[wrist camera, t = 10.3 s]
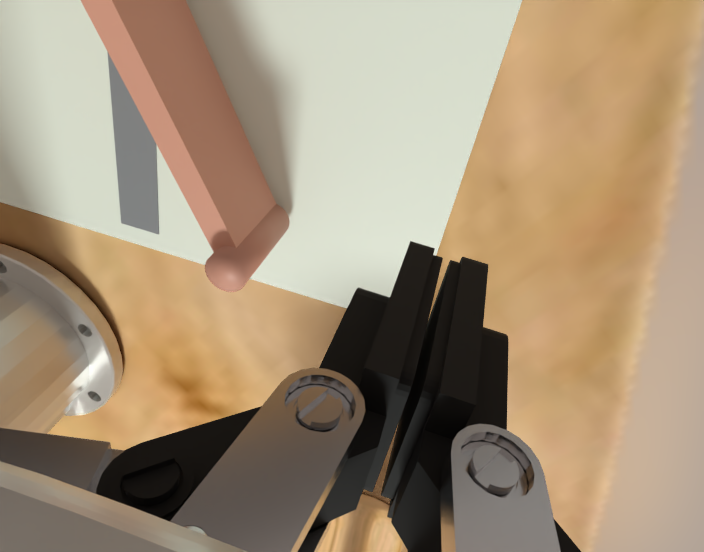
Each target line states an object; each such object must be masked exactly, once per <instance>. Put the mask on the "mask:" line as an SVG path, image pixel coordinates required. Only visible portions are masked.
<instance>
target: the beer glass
mask: <svg viewBox="0 0 704 552" xmlns="http://www.w3.org/2000/svg"><path fill="white" fill-rule="evenodd" d="M388 510H389V505H388V504H386V503H385V502H383V501H381V500H379V499H376V498H374V497H371V496H368V495H364V494H361V497H360V500H359V503H358V506H357V508H356V510H354V511H351V512H349V513H347V514H345V515H343V516H340V517H338V518H336V519H334V520H332V521H331V525H330V528H329V530H328V532H327V534H326V536H325V538H324V540H323V542H322V544H321V546H320V548H319V550H318V552H401V548H402V544H403V541H402V540H401V538H400V536H399V535H398V533H397V531H396V530H395V528H394V526H393V525H392V523H391V520H392V519H391V518H389V517H387V514H388Z"/></svg>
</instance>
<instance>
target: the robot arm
mask: <svg viewBox="0 0 704 552" xmlns="http://www.w3.org/2000/svg"><path fill="white" fill-rule="evenodd" d="M434 250H435V248H432V247H429V246H425V245H422V244H419V243H416V242H412V241H410V243H409V246H408V249H407V252H406V254H405V257H404V260H403V263H402V266H401V268H400V271H399V274H398V277H397V279H396V282H395V285H394V288H393V290H392V293H391V296H390V297H387V296H384V295H380V294H377V293H374V292H371V291H368V290H365V289H362V288H357V289H356V291H355V293H354V295H353V297H352V299H351V301H350V304H349V306H348V308H347V310H346V312H345V314H344V316H343V318H342V321H341V323H340V325H339V327H338V329H337V331H336V333H335V335H334V338H333V340H332V342H331V344H330V346H329V348H328V350H327V352H326V355H325V357H324V359H323V361H322V363H321V365H320V367H319V368H309V369H302V370H299V371H297V372H295V373H292V374H290V375H289V376H288V377H287V378H286V379H284V380H283V381H282V382H281V383H280V384H279V386H278V387H277V388H276V389H275V391H274V392H273V393H272V394H271V396H270V397H269V398H268V399H267V401H266V402H265V403H264V404H263V406H261V407H258V408H255V409H251V410H248V411H245V412H242V413H238V414H235V415H232V416H228V417H225V418H222V419H218V420H215V421H212V422H209V423H205V424H202V425H199V426H195V427H192V428H189V429H186V430H182V431H179V432H176V433H172V434H169V435H166V436H163V437H159V438H156V439H153V440H149V441H146V442H143V443H140V444H138V445H136V446H133V447H131V448H129V449H126V450H125V451H123V450H116V449H111V445H110V442H104V441H96V440H89V439H81V438H74V437H66V436H59V435H51V434H47V433H48V432H49V431H50V430H51V429H52V428H53V427H54V426H55V424H56V423H57V422H58V421H59V420H60V419H61V418H62V417H63V416H64V415H66V416H73V415H84V414H87V413H91V412H94V411H96V410H97V409H99V408H100V407H102V406H103V405H105V404H106V402H107V401H108V400H109V399H110V398H111V397H112V396H113V395H114V393H115V392H116V391H117V389H118V387H119V385H120V383H121V379H122V373H123V364H122V355H121V352H120V349H119V346H118V343H117V339H116V337H115V335H114V333H113V331H112V329H111V328H110V326H109V324H108V322H107V321H106V319H105V318H104V316H103V315H102V313H101V312H100V311H99V309H98V308H97V306H96V305H95V304H94V303H93V302H92V301H91V300H90V299H89V298H88V296H87V295H86V294H85V293H84V292H83V291H82V290H81V289H80V288H79V287H78V286H76V285H75V284H74V283H73V282H72V281H71V280H70V279H68V278H67V277H66V276H65V275H64V274H62V273H61V272H59V271H58V270H56V269H55V268H53V267H52V266H50V265H49V264H47V263H46V262H44V261H42V260H40V259H38V258H36V257H35V256H33V255H31V254H29V253H27V252H24V251H22V250H19V249H16V248H13V247H10V246H8V245H5V244H0V552H318V550H319V548H320V546H321V544H322V542H323V540H324V538H325V536H326V534H327V532H328V530H329V528H330V525H331V521H332V520H334V519H336V518H338V517H340V516H343V515H345V514H347V513H349V512H351V511H354V510H356V508H357V506H358V503H359V500H360V497H361V494H362V491H363V489H365V490H368V491H370V492H373V489H374V487H375V484H376V481H377V479H378V476H379V473H380V471H381V468H382V465H383V463H384V460H385V457H386V455H387V452H388V449H389V446H390V444H391V441H392V438H393V436H394V433H395V430H396V428H397V425H398V428H397V432H396V436H395V440H394V444H393V448H392V452H391V456H390V460H389V464H388V468H387V472H386V476H385V480H384V484H383V488H382V493H381V496H384V497H387V498H389V499H391V501H390V506H389V510H388V514H387V517H389V518H391V519H392V520H391V523H392V525H393V526H394V528H395V530H396V531H397V533H398V535H399V536H400V538H401V540H402V541H403V544H402V548H401V552H581V551H580V550H579V549H578V547H577V546H576V545H575V544H574V543H573V541H572V540H571V539H570V538H569V537H568V535H567V534H566V533H565V532H564V531H563V529H562V528H561V527H560V526H559V524H558V523H557V522H556V521H555V520H554V518H553V513H552V509H551V504H550V500H549V495H548V490H547V486H546V481H545V477H544V473H543V470H542V467H541V465H540V462H539V460H538V458H537V457H536V456H535V454H534V453H533V451H532V450H531V448H530V447H529V446H528V445H526V444H525V443H524V442H523V441H522V440H521V439H520V438H519V437H517V436H516V435H514V434H512V433H511V432H509V431H507V382H508V336H507V335H506V334H503V333H500V332H497V331H494V330H491V329H487V328H484V327H483V319H484V308H485V296H486V285H487V274H488V264H485V263H482V262H478V261H475V260H472V259H468V258H465V257H462V258H461V260H460V263H458V262H455V261H452V260H450V262H449V265H448V267H447V270H446V273H445V276H444V279H443V281H442V284H441V287H440V290H439V292H438V295H437V298H436V301H435V304H434V306H433V309H432V312H431V315H430V317H429V314H430V310H431V305H432V301H433V297H434V293H435V289H436V284H437V280H438V276H439V272H440V267H441V263H442V259H443V258H442V257H438V256H435V255H433V254H434ZM428 318H429V320H428ZM427 322H428V323H427ZM398 422H399V423H398Z"/></svg>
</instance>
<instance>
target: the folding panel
mask: <svg viewBox="0 0 704 552" xmlns="http://www.w3.org/2000/svg"><path fill="white" fill-rule="evenodd" d="M81 2H82V4H83V6H84V8H85V10H86V12H87V14H88V16H89V17H90V19H91V21H92V23H93V25H94V27H95V29H96V31H97V33H98V34H99V36H100V38H101V40H102V42H103V44H104V46H105V48H106V50H107V51H108V53H109V55H110V57H111V59H112V61H113V63H114V65H115V67H116V69H117V70H118V72H119V74H120V76H121V78H122V80H123V82H124V84H125V86H126V87H127V89H128V91H129V93H130V95H131V97H132V99H133V101H134V103H135V104H136V106H137V108H138V110H139V112H140V114H141V116H142V118H143V120H144V122H145V123H146V125H147V127H148V129H149V131H150V133H151V135H152V137H153V139H154V140H155V142H156V144H157V146H158V148H159V150H160V152H161V154H162V156H163V157H164V159H165V161H166V163H167V165H168V167H169V169H170V171H171V173H172V175H173V176H174V178H175V180H176V182H177V184H178V186H179V188H180V190H181V192H182V193H183V195H184V197H185V199H186V201H187V203H188V205H189V207H190V209H191V210H192V212H193V214H194V216H195V218H196V220H197V222H198V224H199V226H200V228H201V229H202V231H203V233H204V235H205V237H206V239H207V241H208V243H209V245H210V246H211V248H212V250H213V252H214V253H213V254H212V255H211V256H210V257H209V258H208V259H207V261H206V263H205V272H206V275H207V277H208V279H209V280H210V281H211V283H212V284H214V285H215V286H216V287H217V288H219V289H221V290H224V291H227V292H235V291H238V290H240V289H242V288H243V287H244V285H245V284H246V283H247V281H248V280H249V279H250V277H251V276H252V275H253V274H254V272H255V271H256V270H257V268H258V267H259V266H260V265H261V263H262V262H263V261H264V259H265V258H266V257H267V256H268V254H269V253H270V252H271V250H272V249H273V248H274V247H275V245H276V244H277V243H278V241H279V240H280V239H281V238H282V236H283V235H284V234H285V232H286V231H287V230H288V228H289V224H290V221H289V217H288V214H287V212H286V211H285V210H284V209H283V208H282V207H281V206H279V205H278V204H276V202H275V200H274V198H273V195H272V193H271V191H270V189H269V186H268V184H267V182H266V180H265V177H264V175H263V173H262V171H261V168H260V166H259V164H258V162H257V159H256V157H255V155H254V153H253V150H252V148H251V146H250V144H249V141H248V139H247V137H246V135H245V132H244V130H243V128H242V126H241V123H240V121H239V119H238V117H237V114H236V112H235V110H234V108H233V105H232V103H231V101H230V99H229V96H228V94H227V92H226V90H225V87H224V85H223V83H222V81H221V78H220V76H219V74H218V72H217V69H216V67H215V65H214V63H213V60H212V58H211V56H210V54H209V51H208V49H207V47H206V45H205V42H204V40H203V38H202V36H201V33H200V31H199V29H198V27H197V24H196V22H195V20H194V18H193V15H192V13H191V11H190V9H189V6H188V4H187V2H186V0H81Z"/></svg>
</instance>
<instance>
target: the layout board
mask: <svg viewBox="0 0 704 552" xmlns="http://www.w3.org/2000/svg"><path fill="white" fill-rule="evenodd" d="M186 2H187V4H188V6H189V9H190V11H191V13H192V15H193V18H194V20H195V22H196V24H197V27H198V29H199V31H200V33H201V36H202V38H203V40H204V42H205V45H206V47H207V49H208V51H209V54H210V56H211V58H212V60H213V63H214V65H215V67H216V69H217V72H218V74H219V76H220V78H221V81H222V83H223V85H224V87H225V90H226V92H227V94H228V96H229V99H230V101H231V103H232V105H233V108H234V110H235V112H236V114H237V117H238V119H239V121H240V123H241V126H242V128H243V130H244V132H245V135H246V137H247V139H248V141H249V144H250V146H251V148H252V150H253V153H254V155H255V157H256V159H257V162H258V164H259V166H260V168H261V171H262V173H263V175H264V177H265V180H266V182H267V184H268V186H269V189H270V191H271V193H272V195H273V198H274V200H275V202H276V204H278V205H279V206H281V207H282V208H283V209H284V210H285V211H286V212H287V214H288V217H289V221H290V224H289V228H288V230H287V231H286V232H285V234H284V235H283V236H282V238H281V239H280V240H279V241H278V243H277V244H276V245H275V247H274V248H273V249H272V250H271V252H270V253H269V254H268V256H267V257H266V258H265V259H264V261H263V262H262V263H261V265H260V266H259V267H258V268H257V270H256V271H255V272H254V274H253V275H252V276H251V277H250V279H252V280H255V281H259V282H262V283H265V284H268V285H272V286H275V287H278V288H281V289H285V290H288V291H291V292H295V293H298V294H301V295H304V296H308V297H311V298H314V299H317V300H321V301H324V302H327V303H330V304H334V305H337V306H340V307H343V308H348V306H349V304H350V301H351V299H352V297H353V295H354V293H355V291H356V289H357V288H362V289H365V290H368V291H371V292H374V293H377V294H380V295H384V296H387V297H390V296H391V293H392V290H393V288H394V285H395V282H396V279H397V277H398V274H399V271H400V268H401V266H402V263H403V260H404V257H405V254H406V252H407V249H408V246H409V243H410V241H412V242H416V243H419V244H422V245H425V246H429V247H432V248H435V250H434V254H433V255H435V256H436V254H437V251H438V248H439V245H440V242H441V239H442V236H443V234H444V231H445V228H446V225H447V222H448V219H449V216H450V213H451V210H452V207H453V204H454V201H455V198H456V195H457V192H458V189H459V186H460V183H461V180H462V177H463V174H464V171H465V168H466V165H467V162H468V159H469V157H470V154H471V151H472V148H473V145H474V142H475V139H476V136H477V133H478V130H479V127H480V124H481V121H482V118H483V115H484V112H485V109H486V106H487V103H488V100H489V97H490V94H491V91H492V88H493V85H494V83H495V80H496V77H497V74H498V71H499V68H500V65H501V62H502V59H503V56H504V53H505V50H506V47H507V44H508V41H509V38H510V35H511V32H512V29H513V26H514V23H515V20H516V17H517V14H518V11H519V8H520V6H521V3H522V0H186ZM0 202H1V203H5V204H8V205H11V206H14V207H18V208H21V209H24V210H28V211H31V212H34V213H37V214H41V215H44V216H47V217H50V218H54V219H57V220H60V221H63V222H67V223H70V224H73V225H76V226H80V227H83V228H86V229H89V230H93V231H96V232H99V233H102V234H106V235H109V236H112V237H115V238H119V239H122V240H125V241H128V242H132V243H135V244H138V245H141V246H145V247H148V248H151V249H155V250H158V251H161V252H164V253H168V254H171V255H174V256H177V257H181V258H184V259H187V260H190V261H194V262H197V263H200V264H203V265H205V263H206V261H207V259H208V258H209V257H210V256H211V255H212V254H213V253H214V252H213V250H212V248H211V246H210V245H209V243H208V241H207V239H206V237H205V235H204V233H203V231H202V229H201V228H200V226H199V224H198V222H197V220H196V218H195V216H194V214H193V212H192V210H191V209H190V207H189V205H188V203H187V201H186V199H185V197H184V195H183V193H182V192H181V190H180V188H179V186H178V184H177V182H176V180H175V178H174V176H173V175H172V173H171V171H170V169H169V167H168V165H167V163H166V161H165V159H164V157H163V156H162V154H161V152H160V150H159V148H158V146H157V144H156V142H155V140H154V139H153V137H152V135H151V133H150V131H149V129H148V127H147V125H146V123H145V122H144V120H143V118H142V116H141V114H140V112H139V110H138V108H137V106H136V104H135V103H134V101H133V99H132V97H131V95H130V93H129V91H128V89H127V87H126V86H125V84H124V82H123V80H122V78H121V76H120V74H119V72H118V70H117V69H116V67H115V65H114V63H113V61H112V59H111V57H110V55H109V53H108V51H107V50H106V48H105V46H104V44H103V42H102V40H101V38H100V36H99V34H98V33H97V31H96V29H95V27H94V25H93V23H92V21H91V19H90V17H89V16H88V14H87V12H86V10H85V8H84V6H83V4H82V2H81V0H0Z"/></svg>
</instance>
